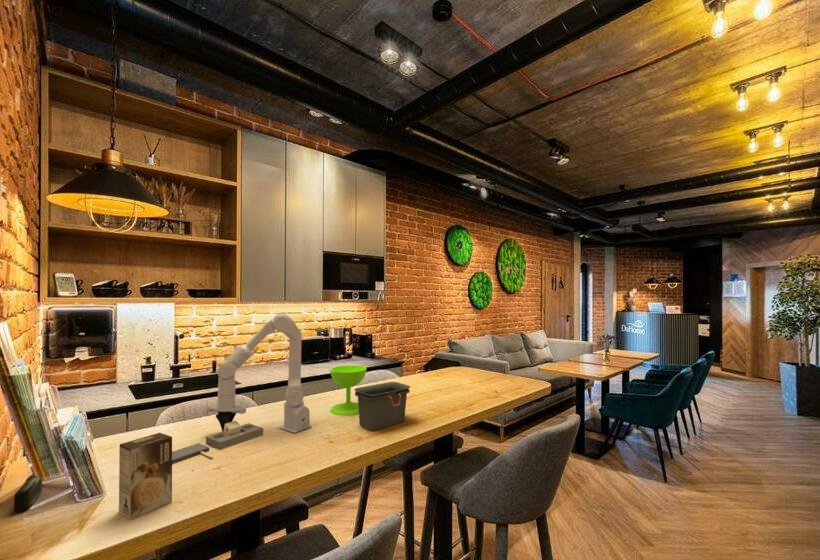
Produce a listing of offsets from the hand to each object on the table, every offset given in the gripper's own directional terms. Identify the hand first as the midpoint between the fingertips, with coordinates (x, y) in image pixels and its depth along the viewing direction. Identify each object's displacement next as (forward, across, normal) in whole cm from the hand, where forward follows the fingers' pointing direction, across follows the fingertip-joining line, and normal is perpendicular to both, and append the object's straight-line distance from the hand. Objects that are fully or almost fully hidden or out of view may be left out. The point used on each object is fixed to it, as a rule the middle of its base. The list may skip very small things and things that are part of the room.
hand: (226, 432), depth 136 cm
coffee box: (+1, -11, +44) cm, 46 cm away
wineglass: (+1, -34, -37) cm, 50 cm away
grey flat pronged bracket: (+1, -1, +19) cm, 19 cm away
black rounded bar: (-4, +21, +46) cm, 51 cm away
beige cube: (0, -3, +2) cm, 4 cm away
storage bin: (+1, -54, -21) cm, 58 cm away
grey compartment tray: (+1, -6, +2) cm, 6 cm away
